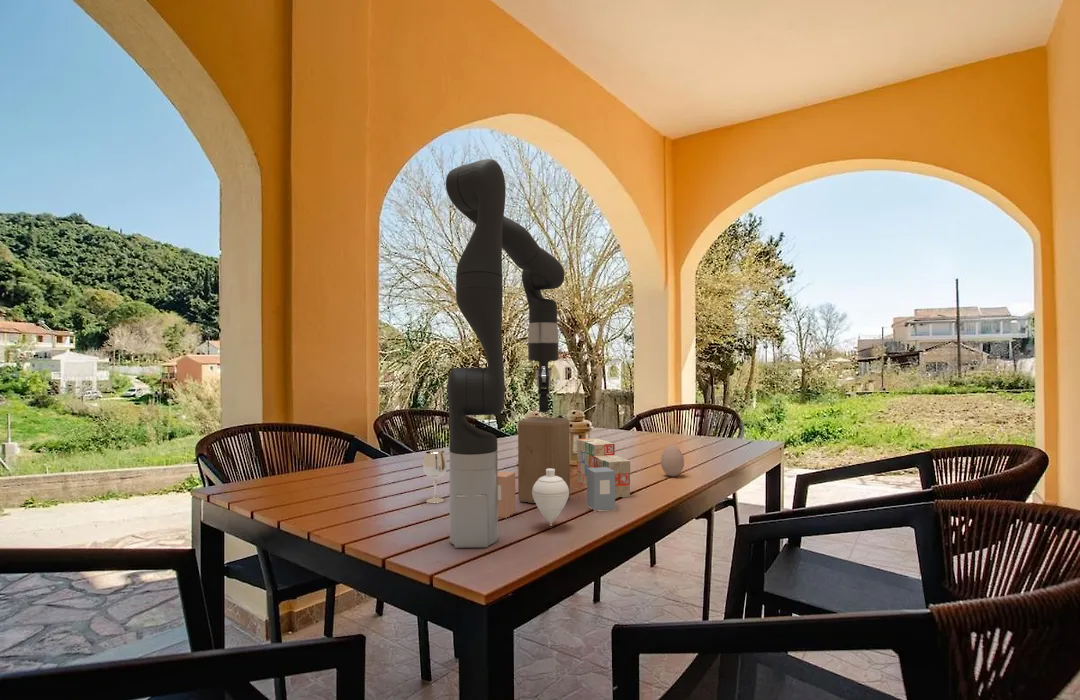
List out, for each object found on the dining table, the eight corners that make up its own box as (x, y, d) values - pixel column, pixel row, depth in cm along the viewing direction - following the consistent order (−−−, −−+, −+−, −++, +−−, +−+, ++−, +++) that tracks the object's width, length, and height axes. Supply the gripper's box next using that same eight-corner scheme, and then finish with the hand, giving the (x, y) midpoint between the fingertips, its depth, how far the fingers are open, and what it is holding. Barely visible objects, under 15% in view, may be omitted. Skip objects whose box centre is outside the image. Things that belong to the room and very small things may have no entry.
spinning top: (544, 519, 120) (543, 464, 120) (575, 524, 116) (575, 467, 116) (525, 529, 113) (524, 470, 114) (558, 535, 109) (557, 474, 110)
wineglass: (419, 503, 134) (419, 453, 135) (429, 497, 140) (429, 449, 140) (441, 504, 133) (441, 454, 133) (450, 498, 139) (450, 450, 139)
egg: (680, 473, 166) (680, 443, 166) (686, 478, 160) (686, 447, 160) (658, 474, 166) (658, 443, 166) (664, 478, 159) (663, 447, 160)
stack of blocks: (631, 497, 139) (630, 448, 139) (608, 499, 137) (607, 449, 137) (597, 479, 160) (596, 437, 160) (576, 481, 158) (576, 438, 158)
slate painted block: (615, 510, 127) (614, 471, 127) (594, 512, 126) (594, 472, 126) (606, 504, 132) (606, 467, 132) (587, 506, 131) (586, 468, 131)
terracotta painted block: (506, 518, 121) (506, 477, 122) (486, 516, 123) (485, 475, 123) (515, 512, 126) (515, 472, 126) (495, 510, 128) (495, 471, 128)
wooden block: (516, 502, 135) (516, 420, 135) (536, 493, 143) (535, 416, 144) (553, 507, 130) (553, 422, 130) (571, 497, 139) (570, 417, 139)
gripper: (559, 340, 131) (559, 414, 130) (557, 342, 144) (557, 409, 144) (527, 341, 131) (528, 414, 130) (528, 342, 144) (528, 409, 144)
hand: (543, 411), depth 137 cm, fingers closed
